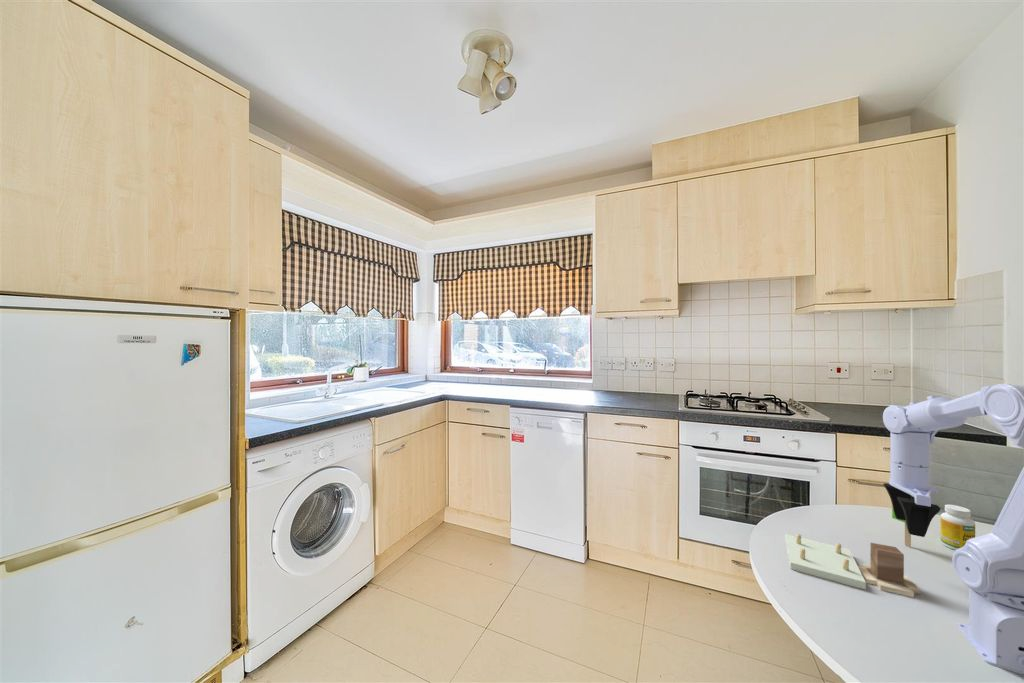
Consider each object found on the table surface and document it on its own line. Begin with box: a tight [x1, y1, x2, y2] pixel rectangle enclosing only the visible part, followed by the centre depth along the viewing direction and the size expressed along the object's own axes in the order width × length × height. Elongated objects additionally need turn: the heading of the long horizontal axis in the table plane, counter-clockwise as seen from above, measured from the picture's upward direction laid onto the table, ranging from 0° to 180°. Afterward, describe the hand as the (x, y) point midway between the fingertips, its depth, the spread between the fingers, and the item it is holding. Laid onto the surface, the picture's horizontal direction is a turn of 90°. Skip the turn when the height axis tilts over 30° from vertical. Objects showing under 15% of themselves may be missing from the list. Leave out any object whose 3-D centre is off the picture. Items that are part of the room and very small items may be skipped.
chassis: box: [784, 533, 867, 591], centre depth 82 cm, size 14×12×4 cm
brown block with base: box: [857, 542, 921, 598], centre depth 76 cm, size 8×8×7 cm
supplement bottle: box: [940, 504, 976, 551], centre depth 88 cm, size 5×5×10 cm
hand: (909, 527), depth 77 cm, fingers open, 7 cm apart
